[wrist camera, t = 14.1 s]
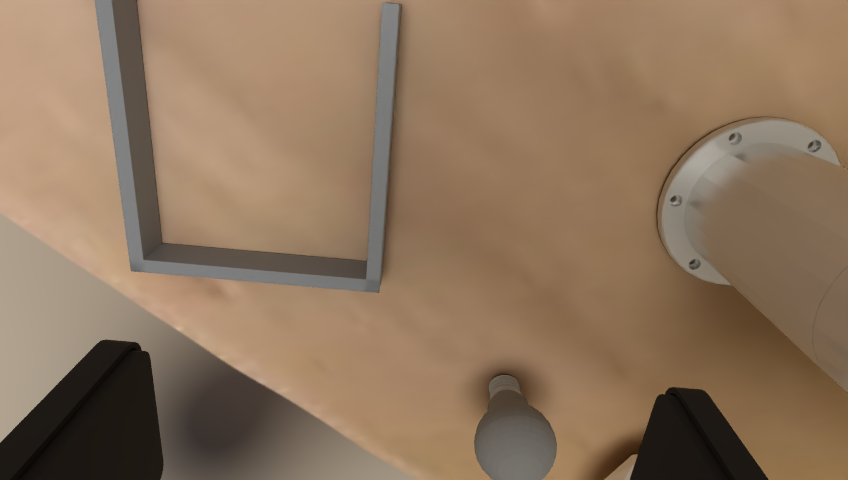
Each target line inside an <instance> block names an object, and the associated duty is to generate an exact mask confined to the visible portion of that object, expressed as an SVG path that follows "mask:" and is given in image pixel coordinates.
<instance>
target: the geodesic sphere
mask: <svg viewBox="0 0 848 480" xmlns="http://www.w3.org/2000/svg"><path fill="white" fill-rule="evenodd" d="M637 455H638V454H634V455H631V456H630V457H629V458H628V459H627V460H626V461H625V462H624V463H622V464H621V465H620V466H619V467H618V468H617V469H616V470H614V471H613V472H612V473H611V474H610V475H609V476H608V477H607V478H605V479H604V480H630V477H631V474H632V471H633V468H634V465H635V462H636V459H637Z"/></svg>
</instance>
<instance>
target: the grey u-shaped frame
mask: <svg viewBox="0 0 848 480" xmlns="http://www.w3.org/2000/svg"><path fill="white" fill-rule="evenodd" d="M401 5H402V4H395V3H382V16H381V33H380V50H379V68H378V85H377V102H376V119H375V136H374V154H373V171H372V188H371V205H370V223H369V240H368V257H367V261H358V260H347V259H336V258H324V257H313V256H302V255H291V254H279V253H268V252H257V251H246V250H234V249H223V248H212V247H201V246H189V245H178V244H167V243H162V237H161V228H160V218H159V209H158V199H157V190H156V180H155V171H154V161H153V152H152V142H151V133H150V124H149V114H148V105H147V95H146V86H145V76H144V67H143V57H142V48H141V39H140V29H139V20H138V10H137V1H136V0H95V6H96V14H97V21H98V29H99V36H100V44H101V51H102V59H103V66H104V73H105V81H106V88H107V96H108V103H109V111H110V118H111V126H112V133H113V141H114V148H115V156H116V163H117V171H118V178H119V186H120V193H121V201H122V208H123V216H124V223H125V231H126V238H127V246H128V253H129V261H130V268H131V271H135V272H147V273H158V274H169V275H181V276H192V277H204V278H215V279H227V280H238V281H250V282H261V283H273V284H284V285H295V286H307V287H318V288H330V289H341V290H353V291H364V292H376V293H379V291H380V285H381V279H382V273H383V259H384V245H385V231H386V217H387V203H388V188H389V174H390V160H391V146H392V132H393V118H394V104H395V90H396V76H397V62H398V48H399V34H400V20H401Z"/></svg>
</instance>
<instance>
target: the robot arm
mask: <svg viewBox="0 0 848 480" xmlns="http://www.w3.org/2000/svg"><path fill="white" fill-rule="evenodd" d="M731 134H732V136H731V138H730V139H729V137H730V135H731ZM673 196H674V198H673V199H672V200H670V199H671V198H672V197H673ZM657 219H658V230H659V233H660V237H661V240H662V243H663V245H664V246H665V248H666V250H667V252H668V253H669V255H670V256H671V257H672V258H673V259H674V260H675V262H676V263H677V264H678V265H679V266H680V267H681V268H683V269H684V270H685V271H686V272H687V273H689V274H691V275H693V276H695V277H697V278H699V279H701V280H703V281H707V282H710V283H714V284H720V285H731V286H733V287H734V288H735V289H736V290H737V291H739V292H740V293H741V294H742V295H743V296H744V297H745V298H746V299H747V300H748V301H749V302H750V303H751V304H752V305H753V306H755V307H756V308H757V309H758V310H759V311H760V312H761V313H762V314H763V315H764V316H765V317H766V318H767V319H768V320H769V321H771V322H772V323H773V324H774V325H775V326H776V327H777V328H778V329H779V330H780V331H781V332H782V333H783V334H784V335H785V336H786V337H788V338H789V339H790V340H791V341H792V342H793V343H794V344H795V345H796V346H797V347H798V348H799V349H800V350H801V351H802V352H804V353H805V354H806V355H807V356H808V357H809V358H810V359H811V360H812V361H813V362H814V363H815V364H816V365H817V366H819V367H820V368H821V369H822V370H823V371H824V372H825V373H826V374H827V375H829V376H830V377H831V378H832V379H833V380H834V381H835V382H836V383H837V384H838V385H839V386H841V387H842V388H843V389H844V390H845V391H846V392H847V393H848V169H846V168H844V167H841V164H840V161H839V159H838V157H837V154H836V152H835V150H834V149H833V148H832V146H831V145H830V144H829V143H828V141H827V140H826V139H825V138H824V137H822V136H821V135H820V134H819V133H817V132H816V131H815V130H813V129H811V128H809V127H807V126H804V125H802V124H800V123H797V122H794V121H790V120H787V119H783V118H772V117H760V118H749V119H745V120H742V121H738V122H734V123H731V124H728V125H726V126H724V127H722V128H720V129H718V130H715V131H713V132H712V133H710V134H709V135H707V136H706V137H704V138H703V139H701V140H700V141H698V142H697V143H696V144H695V145H694V146H693V147H692V148H691V149H689V150H688V151H687V152H686V153H685V154H684V155H683V156H682V158H681V159H680V160H679V161H678V163H677V164H676V165H675V167H674V168H673V169H672V171H671V173H670V175H669V177H668V178H667V180H666V182H665V184H664V187H663V190H662V193H661V196H660V199H659V205H658V213H657ZM162 471H163V455H162V447H161V439H160V432H159V423H158V415H157V407H156V400H155V392H154V384H153V376H152V368H151V360H150V355H149V353H148V352H146V351H142V350H141V347H140V345H139V344H138V343H136V342H127V341H115V340H102V341H100V342H99V343H97V344H96V345H95V346H94V347H93V349H91V351H90V352H89V353H88V354H87V355H86V356H85V357H84V358H83V359H82V360H81V361H80V362H79V363H78V364H77V365H76V366H75V367H74V368H73V369H72V370H71V371H70V372H69V373H68V374H67V375H66V376H65V377H64V378H63V379H62V380H61V381H60V382H59V383H58V385H56V386H55V387H54V389H52V390H51V391H50V392H49V393H48V395H47V396H46V397H45V398H44V399H43V400H42V401H41V402H40V403H39V404H38V405H37V406H36V407H35V408H34V409H33V410H32V411H31V412H30V413H29V414H28V415H27V416H26V417H25V418H24V419H23V420H22V421H21V422H20V423H19V424H18V425H17V426H16V427H15V428H14V429H13V430H12V432H10V433H9V435H7V437H6V438H5V439H4V440H3V441H2V442H1V443H0V480H160V479H161V476H162ZM630 480H768V478H767V477H766V475H765V474H764V473H763V471H762V470H761V468H760V467H759V465H758V464H757V463H756V461H755V460H754V458H753V457H752V456H751V454H750V453H749V451H748V450H747V449H746V447H745V446H744V444H743V443H742V442H741V440H740V439H739V437H738V436H737V434H736V433H735V432H734V430H733V429H732V427H731V426H730V425H729V423H728V422H727V420H726V419H725V418H724V416H723V415H722V413H721V412H720V410H719V409H718V408H717V406H716V405H715V403H714V402H713V401H712V399H711V398H710V396H709V395H708V394H707V393H706V392H705V391H703V390H700V389H688V388H676V387H672V388H669V389H668V390H667V391H666V393H665V395H664V394H661V395H659V396H658V397H657V398H656V401H655V404H654V407H653V410H652V413H651V416H650V419H649V422H648V425H647V428H646V431H645V434H644V437H643V440H642V443H641V446H640V449H639V452H638V455H637V459H636V462H635V465H634V468H633V471H632V474H631V477H630Z"/></svg>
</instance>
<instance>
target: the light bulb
mask: <svg viewBox="0 0 848 480" xmlns="http://www.w3.org/2000/svg"><path fill="white" fill-rule="evenodd" d="M489 394H490V402H489V405H488V411H487V412H486V414H485V415H484V416H483V418H482V419H481V420H480V422H479V424H478V426H477V430H476V434H475V441H474V443H475V454H476V457H477V460H478V462H479V464H480V466H481V467H482V469H483V470H484V471H485V473H486V474H487V475H488V476H489V477H490V478H491V479H493V480H542V479H543V478H544V477H545V476H546V475H547V474H548V472H549V471H550V469H551V468H552V466H553V463H554V460H555V457H556V450H557V443H556V438H555V434H554V432H553V429H552V427H551V425H550V423H549V422H548V420H547V419H546V418H545V417H544V416H543V414H542V413H540V412H539V411H538V410H536V409H535V408H533V407H532V406H530V405H528V403H527V401H526V399H525V398H524V397H523V396H522V395H521V391H520V386H519V383H518V381H517V380H516V379H515V378H514V377H512V376H509V375H500V376H497V377H495V378H494V379H492V380H491V382H490V384H489Z"/></svg>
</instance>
